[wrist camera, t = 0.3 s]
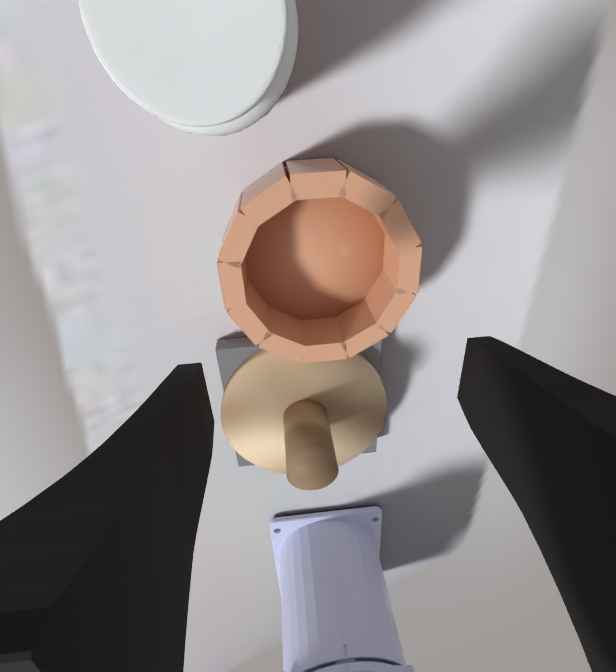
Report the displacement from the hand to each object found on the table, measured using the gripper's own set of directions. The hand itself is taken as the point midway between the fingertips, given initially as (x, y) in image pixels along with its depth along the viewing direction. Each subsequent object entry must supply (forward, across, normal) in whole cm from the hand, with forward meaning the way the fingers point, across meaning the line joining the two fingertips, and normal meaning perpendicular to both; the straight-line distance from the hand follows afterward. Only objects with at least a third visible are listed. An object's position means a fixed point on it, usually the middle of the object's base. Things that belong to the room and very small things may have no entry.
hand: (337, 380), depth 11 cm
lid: (+9, +1, +8) cm, 12 cm away
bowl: (+10, 0, 0) cm, 10 cm away
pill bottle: (+10, +3, -8) cm, 13 cm away
